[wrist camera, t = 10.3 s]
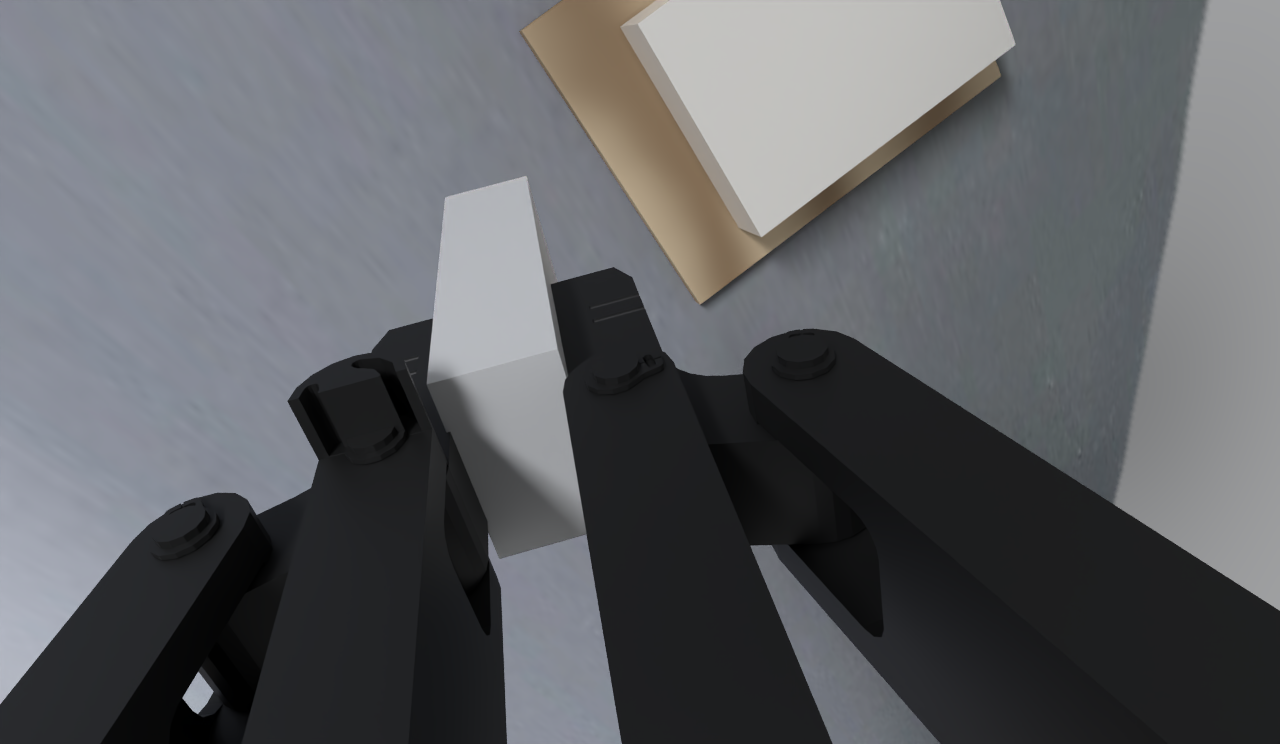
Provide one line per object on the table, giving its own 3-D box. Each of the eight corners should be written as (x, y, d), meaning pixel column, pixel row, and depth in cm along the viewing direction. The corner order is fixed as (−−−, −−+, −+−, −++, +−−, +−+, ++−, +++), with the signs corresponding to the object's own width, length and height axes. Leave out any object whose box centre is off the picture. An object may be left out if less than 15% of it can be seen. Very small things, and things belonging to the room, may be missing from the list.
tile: (761, 237, 35) (1015, 44, 36) (637, 23, 31) (930, -193, 31) (737, 227, 37) (976, 46, 38) (619, 27, 33) (891, -175, 33)
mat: (695, 301, 39) (700, 304, 38) (519, 31, 32) (521, 31, 32) (992, 76, 39) (1001, 76, 39) (876, -231, 33) (884, -236, 33)
